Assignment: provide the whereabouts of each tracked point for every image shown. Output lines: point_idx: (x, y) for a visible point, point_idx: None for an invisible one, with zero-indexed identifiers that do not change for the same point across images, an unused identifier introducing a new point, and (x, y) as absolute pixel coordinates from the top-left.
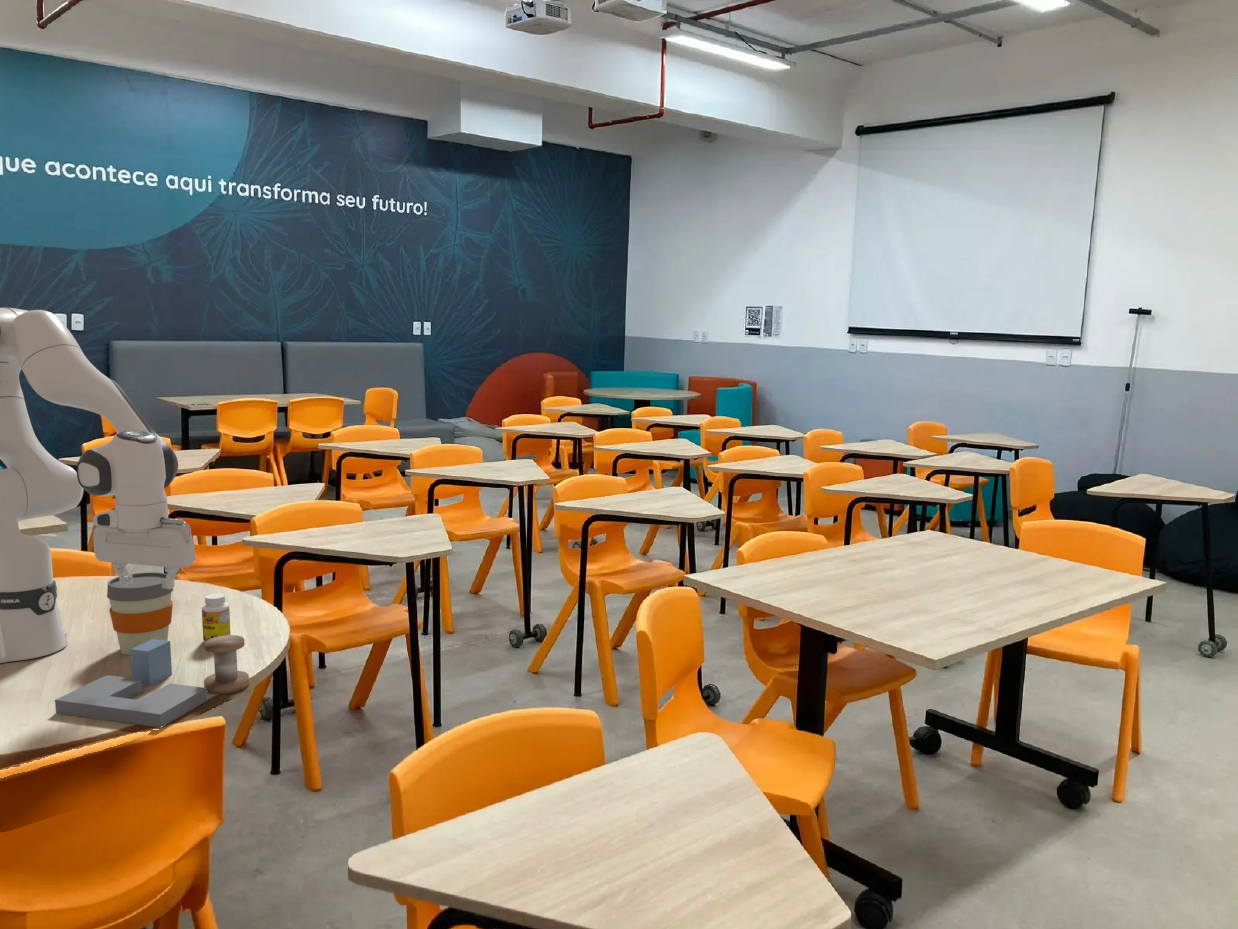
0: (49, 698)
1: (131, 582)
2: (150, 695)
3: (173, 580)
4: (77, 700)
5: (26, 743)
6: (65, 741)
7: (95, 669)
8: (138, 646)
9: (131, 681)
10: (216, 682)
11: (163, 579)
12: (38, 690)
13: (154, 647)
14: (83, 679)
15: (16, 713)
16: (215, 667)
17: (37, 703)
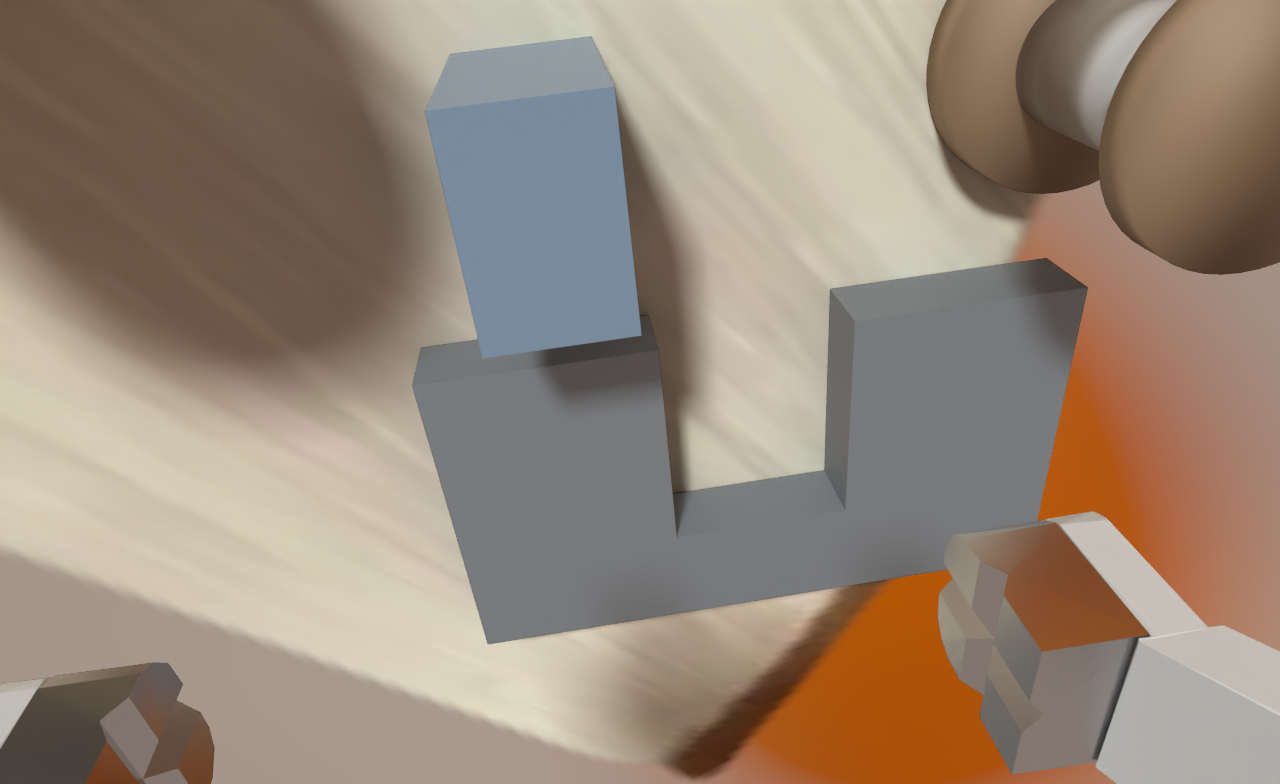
0: (297, 531)
1: (163, 690)
2: (861, 461)
3: (1171, 606)
4: (585, 612)
5: (631, 735)
6: (740, 686)
7: (36, 182)
8: (485, 296)
9: (629, 390)
10: (1052, 139)
11: (1025, 735)
12: (137, 502)
13: (619, 259)
14: (168, 323)
15: (344, 652)
16: (1094, 148)
17: (310, 577)
